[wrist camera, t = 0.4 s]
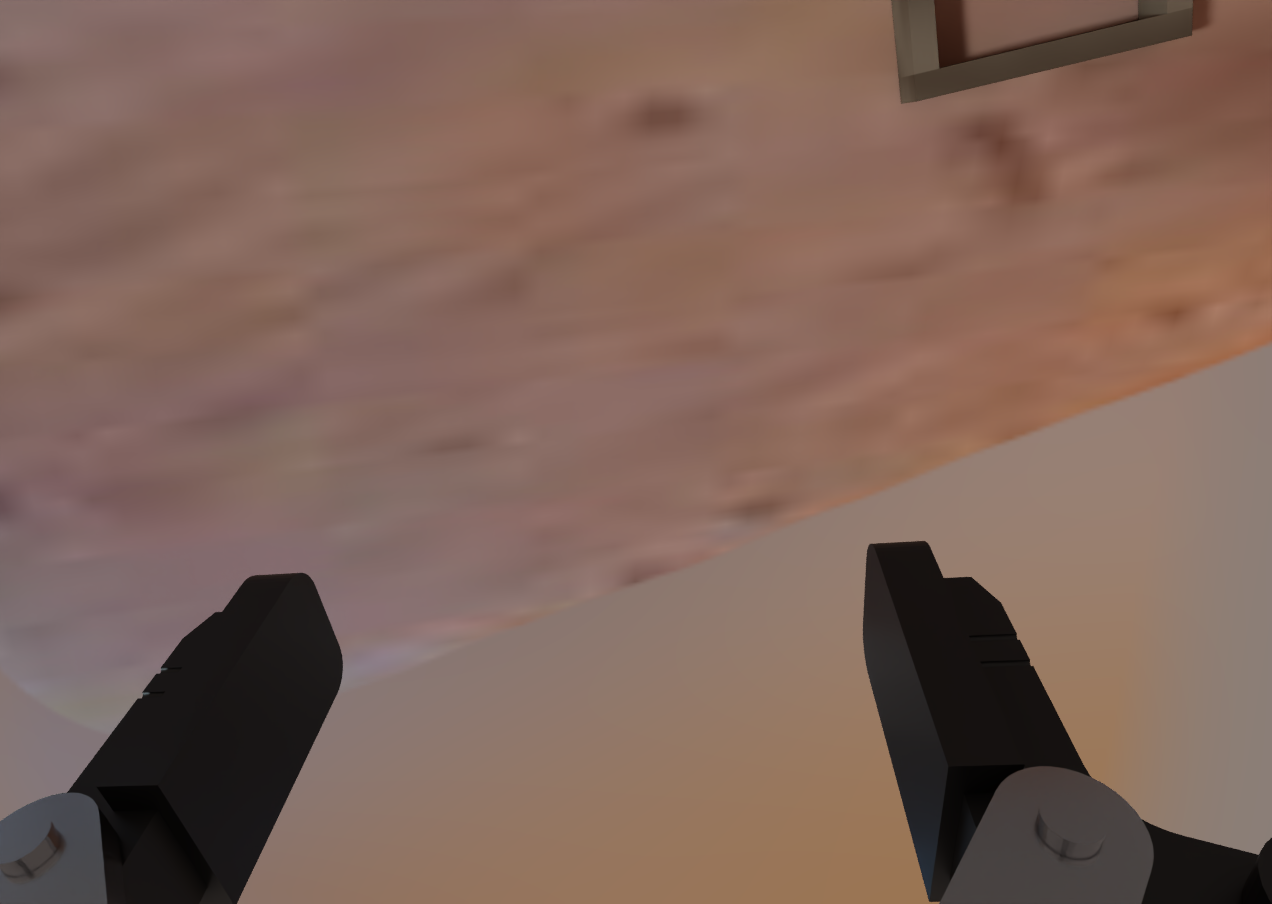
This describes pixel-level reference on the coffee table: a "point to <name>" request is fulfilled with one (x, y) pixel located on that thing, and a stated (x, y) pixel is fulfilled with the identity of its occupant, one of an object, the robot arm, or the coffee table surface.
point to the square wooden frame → (918, 63)
